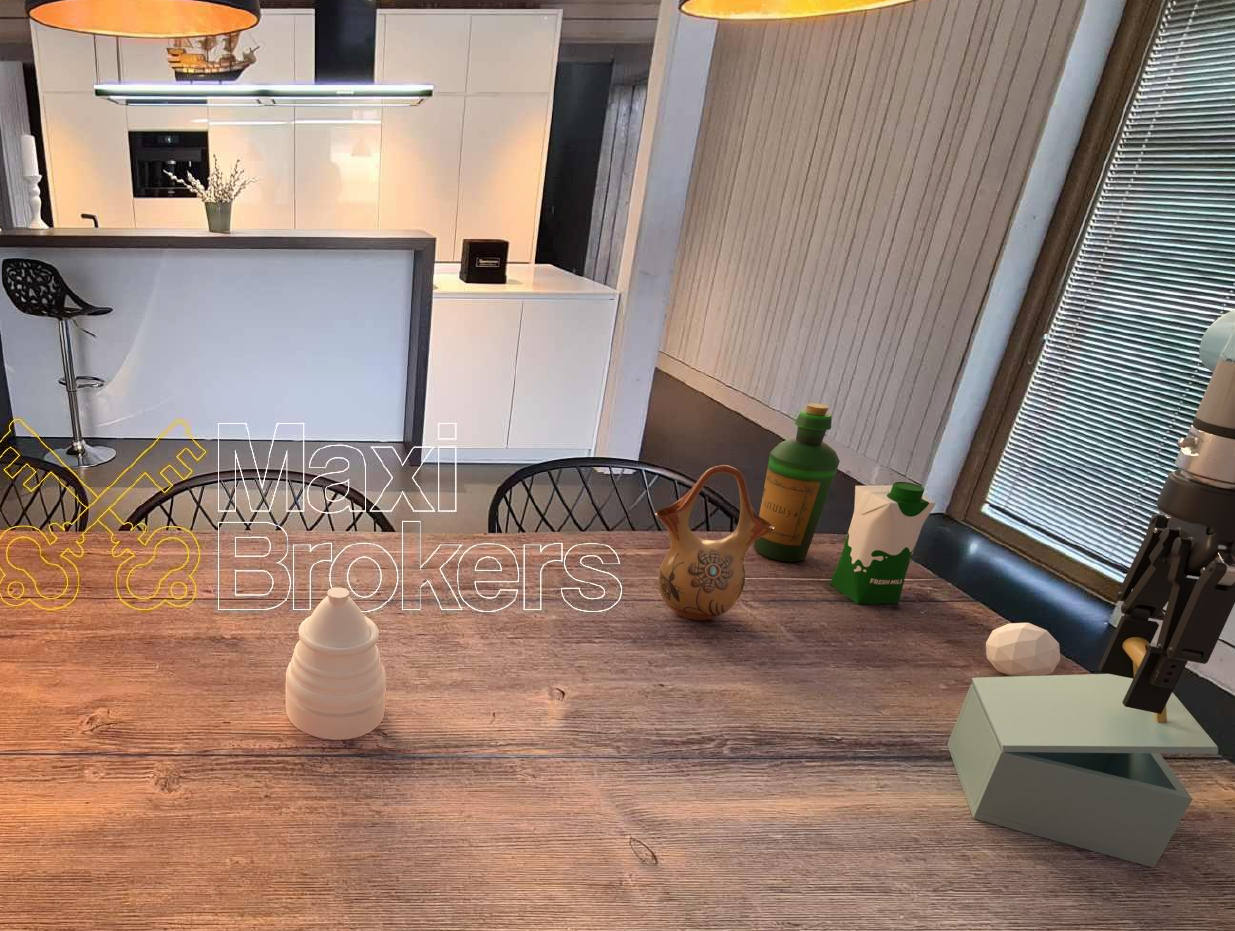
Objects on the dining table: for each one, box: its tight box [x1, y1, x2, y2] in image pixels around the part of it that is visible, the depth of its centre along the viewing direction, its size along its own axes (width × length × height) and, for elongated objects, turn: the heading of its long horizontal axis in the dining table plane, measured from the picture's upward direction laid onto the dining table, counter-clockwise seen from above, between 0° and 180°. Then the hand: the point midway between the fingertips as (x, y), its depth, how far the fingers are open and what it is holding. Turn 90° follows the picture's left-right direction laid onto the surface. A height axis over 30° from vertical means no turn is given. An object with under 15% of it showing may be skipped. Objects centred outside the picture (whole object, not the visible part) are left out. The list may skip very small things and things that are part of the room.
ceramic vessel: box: [654, 464, 774, 621], centre depth 122 cm, size 16×9×25 cm, turn 73°
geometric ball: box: [985, 622, 1061, 677], centre depth 111 cm, size 8×8×8 cm
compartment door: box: [971, 637, 1219, 755], centre depth 84 cm, size 16×14×7 cm
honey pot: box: [285, 586, 388, 741], centre depth 101 cm, size 13×13×18 cm
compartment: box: [946, 683, 1193, 869], centre depth 88 cm, size 15×14×9 cm
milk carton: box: [829, 481, 937, 605], centre depth 130 cm, size 9×9×20 cm
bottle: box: [753, 402, 841, 563], centre depth 143 cm, size 11×11×28 cm
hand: (1128, 690), depth 82 cm, fingers closed on compartment door, 6 cm apart
